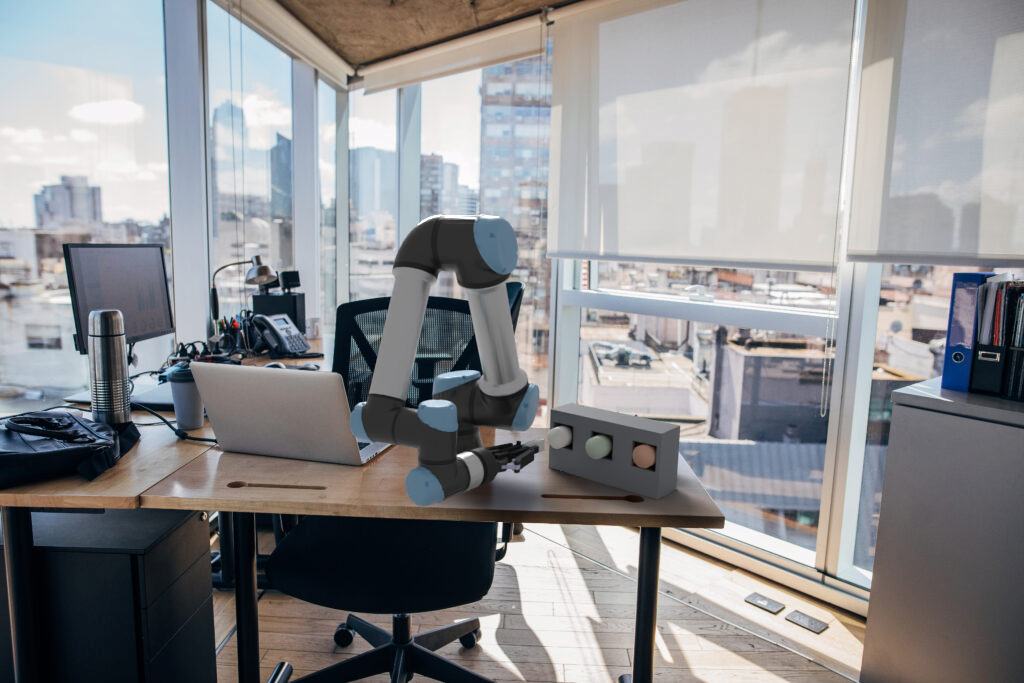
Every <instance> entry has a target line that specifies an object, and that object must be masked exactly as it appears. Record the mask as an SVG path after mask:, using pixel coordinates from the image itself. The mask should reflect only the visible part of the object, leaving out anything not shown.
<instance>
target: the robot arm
mask: <svg viewBox="0 0 1024 683" xmlns="http://www.w3.org/2000/svg"><path fill="white" fill-rule="evenodd" d="M518 251H519V247H518V239H517V235H516V233H515V231H514V228H513V226H512V224H511V223H510V222H509V221H508V220H507V219H506V218H504V217H502V216H498V215H497V216H496V215H489V214H479V215H478V214H474V215H469V214H467V215H465V214H464V215H463V214H462V215H461V214H459V215H456V214H455V215H454V214H453V215H452V214H451V215H447V214H436V215H432V216H429V217H427V218H425V219H423V220H421V221H420V222H419V223H418V224H417V225H415V226H414V227H413V228H412V229H411V231H410V232H408V234H407V235H406V237H405V238H404V240H403V241H402V243H401V244H400V247H399V249H398V251H397V253H396V255H395V258H394V261H393V265H392V270H391V274H392V276H393V277H394V284H393V286H392V287H393V288H392V292H391V296H390V300H389V305H388V309H387V314H386V319H385V323H384V327H383V330H382V336H381V341H380V344H379V349H378V353H377V358H376V363H375V367H374V370H373V375H372V379H371V385H370V387H369V388H370V389H369V392H368V396H367V400H366V401H362V402H358V403H357V404H355V406H354V407H353V410H352V411H351V413H350V415H349V428H350V431H351V432H350V433H352V436H354V437H356V438H357V439H359V440H364V441H368V442H371V443H374V444H375V443H381V444H387V445H394V446H400V447H406V448H410V449H411V448H412V449H417V466H415V467H414V468H412V469H411V470H409V471H408V473H407V475H406V478H405V482H404V487H405V491H406V494H407V497H408V498H409V499H410V501H411V502H412V503H413V504H415V505H416V506H418V507H427V506H430V505H431V506H432V505H433V504H434V505H435V504H440V503H442V502H443V501H445V500H447V499H450V498H452V497H454V496H457V495H459V494H464V493H465V492H468V491H471V490H473V489H475V488H478V487H481V486H484V485H486V484H488V483H491V482H493V480H494V479H495V478H496V476H497V475H498V473H504V472H507V470H512V471H513V473H514V474H520V473H521V470H522V469H524V468H525V467H526V466H528V465H530V464H531V463H533V462H534V461H535V455H536V454H539V453H542V452H543V451H545V450H546V449H545V444H546V439H545V438H542V437H539V438H535V439H533V440H531V441H527V442H524V443H522V440H516V441H515V443H516V444H514V443H512V442H508V443H503V444H498V445H493V446H488V447H484V443H483V440H482V437H481V434H480V427H483V428H490V429H496V430H504V431H509V432H514V431H515V432H526V431H529V429H530V428H531V426H532V425H533V423H534V421H535V419H536V416H537V413H538V409H539V404H540V387H539V386H538V385H537V384H536V383H534V382H532V383H529V378H528V374H527V371H525V369H523V368H521V367H520V363H519V362H520V361H519V357H518V351H517V344H516V339H515V332H514V327H513V326H514V325H513V321H512V320H513V319H512V315H511V314H512V313H511V309H510V303H509V302H510V301H509V297H508V296H509V295H508V290H507V289H508V288H507V282H508V281H509V280H510V278H511V277H512V276H511V275H512V272H513V271H514V270H515V268H516V266H517V263H518V259H519V256H518ZM442 271H443V272H454V273H455V278H456V282H457V285H458V286H459V287H461V288H462V289H464V290H465V291H466V295H467V297H466V298H467V301H468V306H469V311H470V315H471V320H472V325H473V330H474V335H475V341H476V345H477V350H478V355H479V360H480V365H481V370H482V375H481V372H480V371H478V370H473V369H472V370H471V369H470V370H469V369H467V370H455V371H450V372H449V371H448V372H444V373H440V374H438V375H437V376H435V378H434V380H433V385H432V393H431V395H432V399H428V400H423V401H422V402H420V403H419V404H418V408H413V407H412V408H410V407H405V406H406V400H407V396H408V391H409V387H410V383H411V379H412V378H411V377H412V373H413V370H414V365H415V361H416V355H417V350H418V346H419V342H420V338H421V333H422V329H423V323H424V319H425V315H426V310H427V305H428V301H429V296H430V292H431V288H432V287H433V286H434V285H436V284H437V282H438V278H439V274H440V273H441V272H442Z"/></svg>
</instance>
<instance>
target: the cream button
mask: <svg viewBox="0 0 1024 683" xmlns="http://www.w3.org/2000/svg"><path fill="white" fill-rule="evenodd" d="M546 438H547V441H548V442H547V443H548V445H549V444H550V445H551V446H552V447H553V448H555V449H559V448H562V447H565V446H567V445H570V444H571V443H572V442H573V431H572V429H571V428H570V427H569V426H567V425H562V426H559V427H556V428H553V429H551V430H550V429H549V430H548V432H547V437H546Z"/></svg>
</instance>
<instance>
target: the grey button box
mask: <svg viewBox="0 0 1024 683" xmlns="http://www.w3.org/2000/svg"><path fill="white" fill-rule="evenodd" d="M608 410H609V409H604V408H603V409H602V408H599V407H593V406H588V405H584V404H580V403H574V402H570V403H567V404H563V405H560V406H556V407H553V408H550V413H549V414H550V415H549V418H550V420H549V431H550V430H551V429H553V428H556V427H559V426H562V425H567V426H569V427H570V428H571V429H572V431H573V442H572V443H571V444H570V445H567V446H565V447H562V448H559V449H555V448H553V447H552V446H551V445H550V444H549V443H548V445H549V447H548V448H549V449H548V451H549V452H548V468H549V467H550V468H549V469H552V468H553V469H552V470H555V469H557V470H556V471H558V470H560V471H559V472H562V471H564V472H563V473H565V472H567V473H566V474H569V473H570V474H569V475H572V474H574V475H573V476H575V475H577V476H576V477H579V476H580V477H579V478H582V477H583V479H585V480H586V479H587V480H589V481H593V482H596V483H600V484H603V485H606V486H610V487H613V488H618V489H620V490H624V491H627V492H631V493H634V494H636V495H637V494H638V495H641V496H644V497H647V498H651V499H655V500H657V501H658V500H660V499H662V498H663V497H665V496H667V495H668V494H670V493H672V492H674V491H675V490H677V486H678V485H677V483H678V469H679V455H680V454H679V452H680V440H681V439H680V436H681V425H679V424H675V423H671V422H666V421H660V420H656V419H650V418H646V417H641V416H638V415H637V416H632V415H627V414H623V413H620V412H619V411H617V412H613V411H614V410H610V411H608ZM618 412H619V413H618ZM600 434H605V435H607V436H608V437H610V439H611V440H612V443H613V450H612V452H611V453H610V454H609V455H607V456H604V457H602V458H600V459H593V458H591V457H590V456H589V455H588V454H587V452H586V448H585V445H586V442H587V440H588V439H590V438H592V437H595V436H598V435H600ZM644 443H646V444H650V445H654V446H657V453H656V463H655V464H653V465H651V466H649V467H647V468H641V467H639V466H637V465H636V464H635V462H634V460H633V457H632V454H633V450H634V449H635V448H636V447H637V446H640V445H642V444H644Z"/></svg>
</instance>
